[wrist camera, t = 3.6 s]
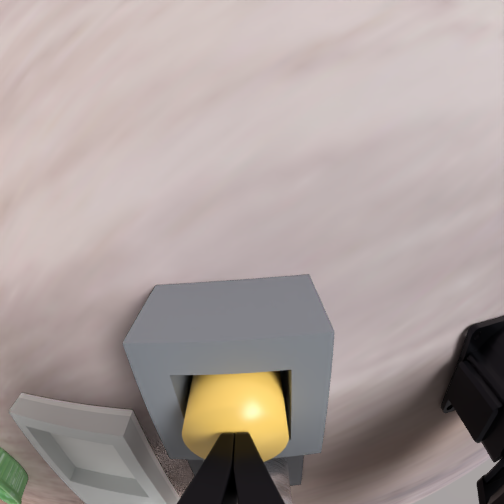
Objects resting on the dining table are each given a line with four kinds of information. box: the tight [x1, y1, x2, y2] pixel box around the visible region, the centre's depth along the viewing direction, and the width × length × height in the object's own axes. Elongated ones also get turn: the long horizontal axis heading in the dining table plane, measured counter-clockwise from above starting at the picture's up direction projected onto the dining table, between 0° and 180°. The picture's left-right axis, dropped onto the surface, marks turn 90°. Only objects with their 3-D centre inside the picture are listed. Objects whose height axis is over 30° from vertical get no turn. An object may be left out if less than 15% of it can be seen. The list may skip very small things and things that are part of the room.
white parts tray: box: [8, 393, 180, 504], centre depth 17 cm, size 9×19×2 cm, turn 4°
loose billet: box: [203, 457, 292, 504], centre depth 13 cm, size 5×5×6 cm
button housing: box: [123, 274, 334, 460], centre depth 11 cm, size 6×6×4 cm
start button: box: [182, 371, 289, 462], centre depth 10 cm, size 3×3×4 cm
